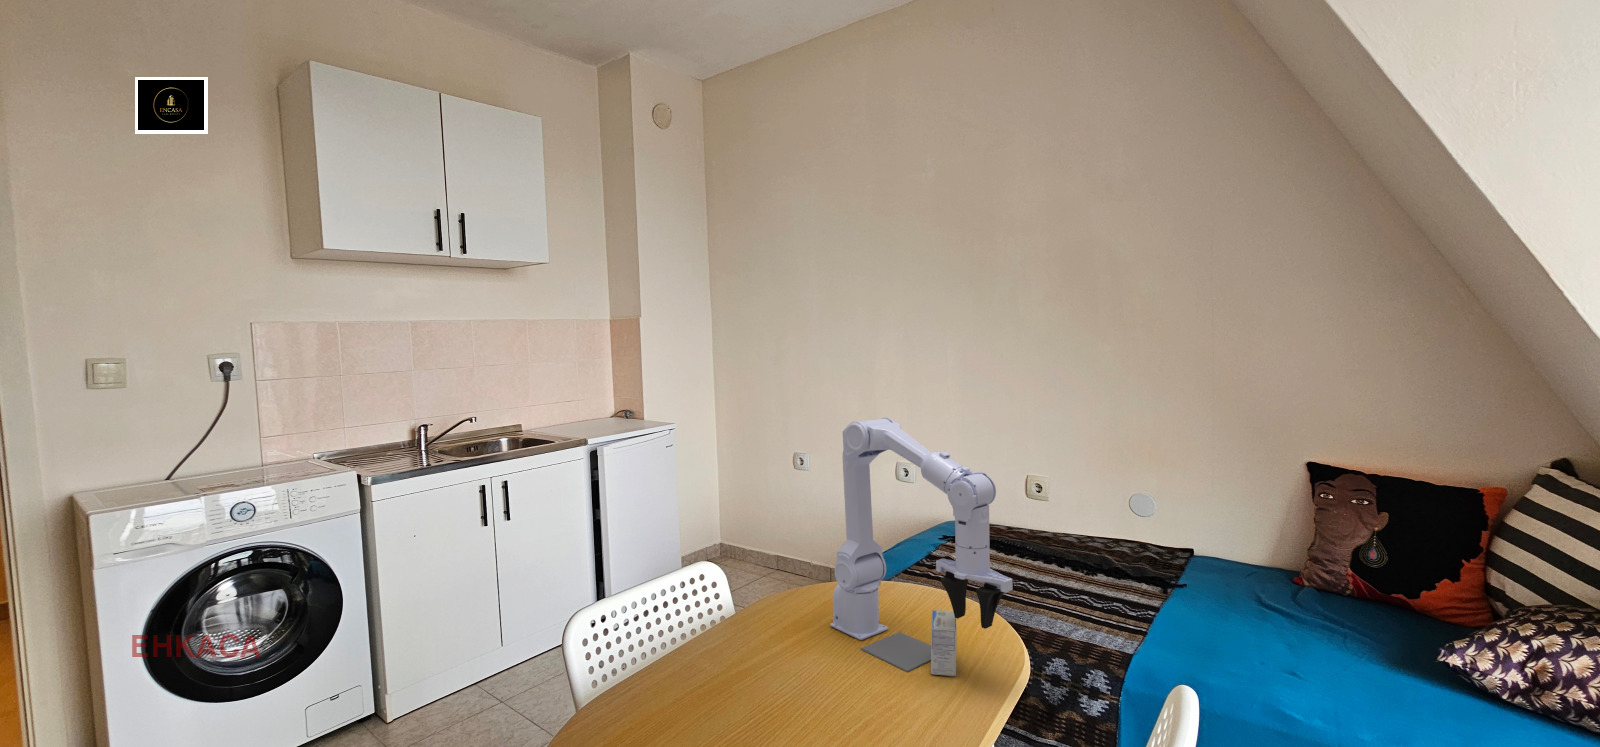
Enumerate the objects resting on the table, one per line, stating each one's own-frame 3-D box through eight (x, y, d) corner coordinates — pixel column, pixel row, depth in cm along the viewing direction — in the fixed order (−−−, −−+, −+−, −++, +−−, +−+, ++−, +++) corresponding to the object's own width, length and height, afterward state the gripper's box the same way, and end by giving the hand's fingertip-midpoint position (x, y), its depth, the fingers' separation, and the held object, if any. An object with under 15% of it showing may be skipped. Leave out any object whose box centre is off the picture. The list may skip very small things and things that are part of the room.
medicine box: (956, 677, 119) (957, 630, 118) (930, 675, 120) (931, 627, 119) (955, 656, 127) (956, 611, 126) (930, 653, 127) (931, 609, 127)
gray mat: (860, 649, 131) (860, 648, 131) (899, 633, 137) (899, 631, 137) (907, 672, 121) (907, 670, 121) (946, 653, 128) (946, 652, 128)
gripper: (924, 539, 120) (925, 615, 121) (994, 559, 109) (995, 642, 109) (949, 532, 124) (950, 604, 125) (1019, 549, 113) (1020, 629, 114)
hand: (973, 621), depth 117 cm, fingers open, 5 cm apart
